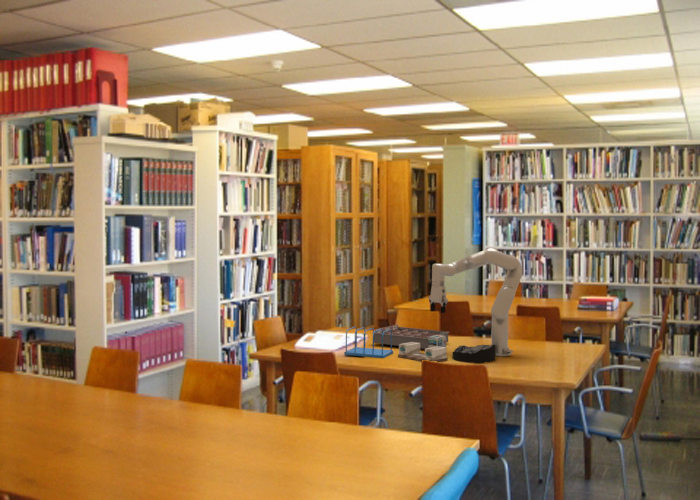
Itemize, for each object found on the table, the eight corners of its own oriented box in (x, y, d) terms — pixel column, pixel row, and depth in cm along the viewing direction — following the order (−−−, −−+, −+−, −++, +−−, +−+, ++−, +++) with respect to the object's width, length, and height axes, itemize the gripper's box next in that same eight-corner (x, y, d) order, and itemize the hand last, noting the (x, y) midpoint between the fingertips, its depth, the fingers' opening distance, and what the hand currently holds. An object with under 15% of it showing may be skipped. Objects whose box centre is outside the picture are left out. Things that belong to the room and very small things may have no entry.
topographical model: (484, 354, 429) (484, 337, 429) (502, 362, 405) (503, 344, 405) (446, 356, 423) (446, 339, 423) (462, 364, 399) (462, 346, 399)
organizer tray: (426, 351, 437) (426, 335, 437) (371, 345, 460) (371, 329, 459) (449, 344, 464) (450, 328, 463) (396, 338, 486) (396, 323, 486)
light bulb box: (437, 355, 422) (437, 337, 422) (427, 354, 426) (427, 336, 426) (446, 353, 431) (446, 335, 430) (436, 352, 435) (437, 334, 435)
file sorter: (344, 355, 424) (344, 329, 424) (355, 350, 440) (355, 325, 440) (383, 358, 415) (383, 332, 414) (393, 353, 431) (393, 328, 430)
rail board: (447, 360, 409) (447, 347, 408) (431, 363, 399) (431, 350, 399) (413, 354, 428) (413, 341, 427) (397, 357, 418) (397, 344, 418)
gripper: (452, 284, 427) (451, 313, 428) (434, 282, 441) (433, 309, 442) (442, 285, 423) (442, 314, 424) (424, 283, 437) (424, 310, 438)
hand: (437, 311), depth 433 cm, fingers open, 9 cm apart
